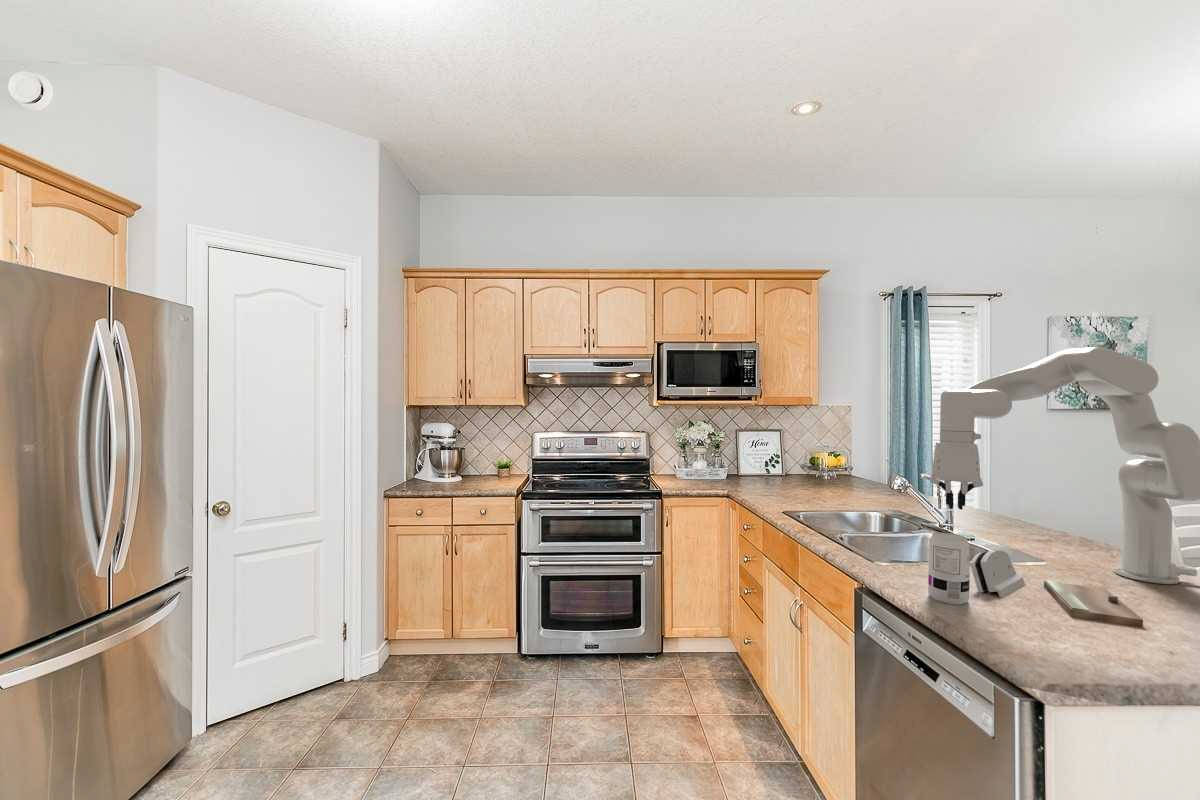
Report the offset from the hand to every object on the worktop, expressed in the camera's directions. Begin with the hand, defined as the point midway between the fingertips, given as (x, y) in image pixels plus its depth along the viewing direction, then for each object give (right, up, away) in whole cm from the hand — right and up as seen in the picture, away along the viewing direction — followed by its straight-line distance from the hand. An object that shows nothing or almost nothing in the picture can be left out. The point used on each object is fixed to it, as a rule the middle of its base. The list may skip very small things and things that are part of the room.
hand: (955, 507), depth 144 cm
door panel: (+21, -20, -16) cm, 33 cm away
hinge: (+8, -20, -4) cm, 21 cm away
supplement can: (-10, -19, -13) cm, 25 cm away
